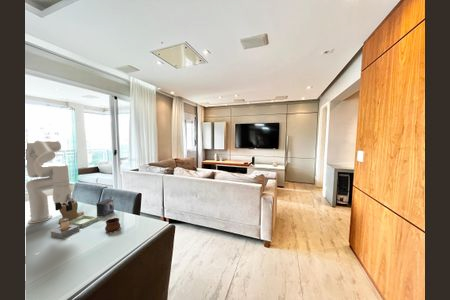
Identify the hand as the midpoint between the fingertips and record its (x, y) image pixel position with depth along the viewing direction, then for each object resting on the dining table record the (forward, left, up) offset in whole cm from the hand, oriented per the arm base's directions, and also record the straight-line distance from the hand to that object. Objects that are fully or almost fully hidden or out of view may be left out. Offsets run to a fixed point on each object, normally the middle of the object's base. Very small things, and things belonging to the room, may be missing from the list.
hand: (64, 210), depth 115 cm
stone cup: (-18, +15, -16) cm, 28 cm away
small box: (-2, +30, -16) cm, 34 cm away
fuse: (-1, 0, -15) cm, 15 cm away
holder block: (-1, 0, -15) cm, 15 cm away
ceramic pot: (+26, +11, -16) cm, 33 cm away
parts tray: (-4, +14, -15) cm, 21 cm away
